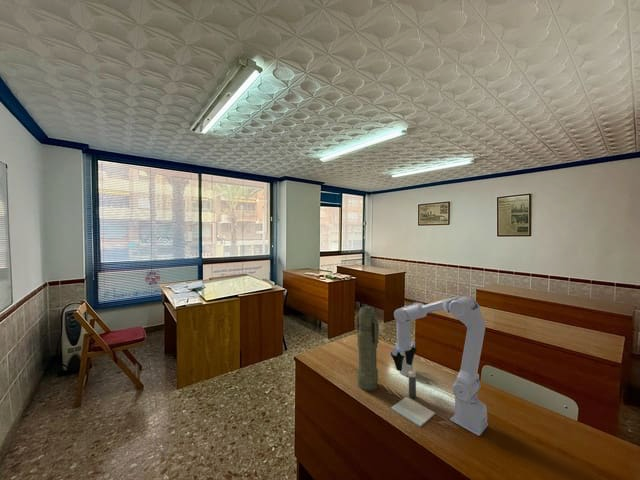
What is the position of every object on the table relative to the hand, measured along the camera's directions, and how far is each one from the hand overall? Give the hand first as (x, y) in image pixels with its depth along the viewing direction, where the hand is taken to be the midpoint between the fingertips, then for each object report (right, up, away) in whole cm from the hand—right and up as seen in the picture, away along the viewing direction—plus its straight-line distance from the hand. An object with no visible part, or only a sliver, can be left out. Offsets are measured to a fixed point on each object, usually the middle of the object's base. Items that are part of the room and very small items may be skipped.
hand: (404, 367), depth 108 cm
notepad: (-1, -10, -13) cm, 17 cm away
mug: (+7, -10, +15) cm, 20 cm away
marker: (+2, -10, -4) cm, 11 cm away
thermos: (-15, -10, +4) cm, 19 cm away
